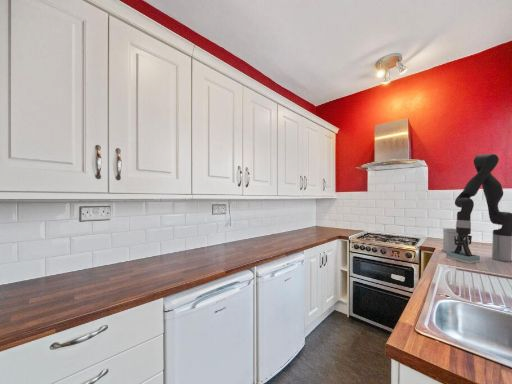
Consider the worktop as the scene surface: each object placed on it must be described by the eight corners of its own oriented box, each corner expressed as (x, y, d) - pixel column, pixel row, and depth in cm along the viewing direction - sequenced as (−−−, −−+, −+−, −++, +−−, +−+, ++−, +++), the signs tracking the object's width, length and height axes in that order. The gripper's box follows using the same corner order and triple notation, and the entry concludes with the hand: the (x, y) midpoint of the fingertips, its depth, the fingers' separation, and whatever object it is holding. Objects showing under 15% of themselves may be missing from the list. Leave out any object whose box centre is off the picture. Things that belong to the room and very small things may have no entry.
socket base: (456, 256, 166) (456, 250, 166) (479, 261, 153) (479, 255, 153) (446, 257, 163) (446, 251, 163) (468, 263, 150) (469, 257, 150)
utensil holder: (473, 255, 169) (474, 231, 169) (453, 254, 170) (453, 231, 169) (456, 249, 184) (457, 228, 184) (437, 249, 184) (438, 227, 184)
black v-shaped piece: (472, 257, 156) (473, 239, 156) (469, 258, 153) (470, 240, 153) (456, 253, 164) (456, 237, 163) (452, 255, 160) (453, 237, 160)
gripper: (464, 225, 164) (463, 248, 164) (450, 226, 159) (449, 250, 159) (476, 227, 156) (476, 251, 157) (462, 227, 152) (461, 253, 152)
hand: (462, 250), depth 158 cm, fingers closed on black v-shaped piece, 6 cm apart
